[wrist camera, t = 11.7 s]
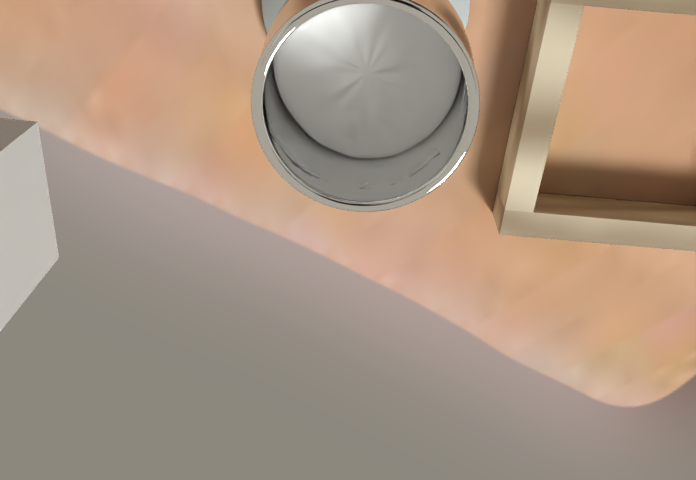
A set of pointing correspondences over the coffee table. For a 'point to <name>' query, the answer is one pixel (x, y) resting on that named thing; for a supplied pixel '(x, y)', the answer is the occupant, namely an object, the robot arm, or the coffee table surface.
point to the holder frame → (535, 136)
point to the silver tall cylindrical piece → (366, 99)
